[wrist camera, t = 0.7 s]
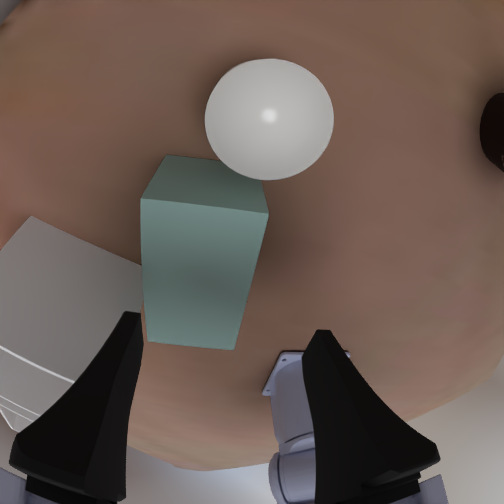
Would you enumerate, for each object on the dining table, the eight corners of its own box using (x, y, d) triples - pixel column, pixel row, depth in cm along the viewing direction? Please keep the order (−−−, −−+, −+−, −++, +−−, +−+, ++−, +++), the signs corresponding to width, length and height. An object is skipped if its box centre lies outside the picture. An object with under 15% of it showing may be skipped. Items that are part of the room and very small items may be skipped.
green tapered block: (231, 287, 24) (233, 349, 19) (161, 279, 23) (147, 341, 18) (257, 166, 18) (269, 214, 13) (166, 154, 17) (140, 198, 12)
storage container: (32, 214, 18) (-45, 316, 9) (152, 268, 22) (121, 398, 13) (32, 360, 30) (10, 428, 21) (103, 390, 34) (90, 460, 25)
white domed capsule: (289, 148, 17) (315, 189, 12) (207, 135, 16) (196, 171, 12) (309, 70, 14) (347, 77, 10) (221, 53, 14) (216, 48, 9)
